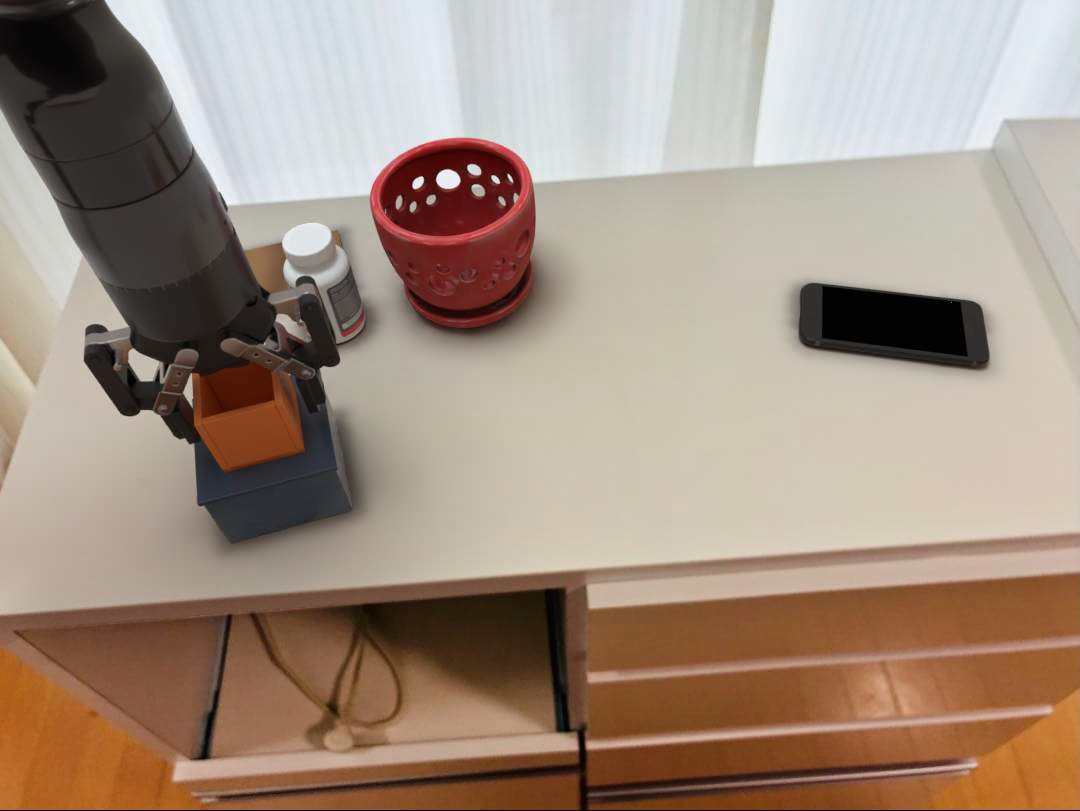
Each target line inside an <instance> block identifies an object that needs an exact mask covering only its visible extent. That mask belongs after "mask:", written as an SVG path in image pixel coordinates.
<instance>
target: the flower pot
mask: <svg viewBox="0 0 1080 811" xmlns="http://www.w3.org/2000/svg"><path fill="white" fill-rule="evenodd" d="M470 165H474V166H477V167H478V168H479V169H480V174H474V173H472V172H470V170H469V169H468V167H469V166H470ZM446 170H447V171H452V172H455V174H457V175H458V177H459V184H458V185H456V186H455V187H452V188H445V187H442V186H440V185H439V184H438V182H437V178H438V175H439V174H440V173H441V172H443V171H446ZM493 176H494V177H496V178H497V179H498V181H499V183H497V182H495V181H494V180H493V178H492V177H493ZM509 176H510V177H511V180H512V181H511V180H510V178H509ZM420 177H421V178H423V182H422V184H421V186H419V187H417V188H414V186H413V185H414V181H415V180H416V179H419V178H420ZM475 185H476V186H477V185H478V186H480V187H481V188H483V190H484V195H481V196H479V195H476V194H475V193H474V191H473V186H475ZM515 194H516V195H517V196H518V197H517V200H516V201H515V197H514V196H515ZM430 196H434V197H435V200H434V202H432V203H430V204H428V203H427V202H428V198H429V197H430ZM399 197H401V204H400V206H399V207H398V208H397V200H398V198H399ZM500 197H501V198H502V199H503V200H504V203H505V204H502V203H501V202H500V199H499V198H500ZM413 203H415V204H416V205H415V209H414V210H413V211H411V205H412V204H413ZM369 207H370V213H371V216H372V220H373V223H374V227H375V230H376V234H377V235H378V238H379V241H380V244H381V247H382V249H383V250H384V253H385V255H386V257H387V259H388V261H389V262H390V265H391V266H392V268H393V270H394V271H395V273H396V274H397V276H398V277H399V278H400V279H401V281H402V282H403V289H404V293H405V295H406V299H407V300H408V301H409V303H410V305H411V306H412V307H413V309H414V310H415V311H416V312H417V313H419V314H420V315H421V316H422V317H424V318H426V319H427V320H429V321H431V322H433V323H435V324H438V325H441V326H445V327H450V328H457V329H459V328H461V329H467V328H469V329H470V328H477V327H482V326H487V325H489V324H492V323H495V322H497V321H499V320H501V319H503V318H505V317H507V316H508V315H510V314H511V313H513V312H514V311H515V310H516V309H517V308H518V307H520V305H521V304H522V303H523V302H524V301H525V299H526V298H527V296H528V294H529V292H530V291H531V287H532V284H533V280H534V266H533V261H532V259H531V256H532V253H533V248H534V244H535V239H536V238H535V237H536V226H537V225H536V224H537V223H536V222H537V214H536V212H537V211H536V197H535V190H534V184H533V178H532V175H531V171H530V169H529V167H528V164H526V162H525V160H523V159H522V157H521V156H519V155H518V153H516V152H514V151H513V150H511V149H510V148H508V147H506V146H504V145H502V144H500V143H497V142H495V141H491V140H487V139H482V138H475V137H448V138H441V139H436V140H432V141H428V142H425V143H422V144H418V145H416V146H414V147H412V148H410V149H408V150H406V151H405V152H402V153H401V154H399V155H398V156H396V157H395V158H393V159H392V160H391V161H390V162H389V163H387V165H386V166H384V167H383V168H382V169H381V171H380V172H379V174H378V175H377V176H376V178H375V179H374V181H373V183H372V186H371V189H370V193H369Z"/></svg>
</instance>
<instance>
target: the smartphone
mask: <svg viewBox="0 0 1080 811" xmlns="http://www.w3.org/2000/svg"><path fill="white" fill-rule="evenodd" d="M951 302H952V303H951ZM798 312H799V313H798V337H799V339H800V340H801V341H802V342H803V343H805V344H807V345H810V346H813V347H814V346H815V347H820V348H828V349H836V350H843V351H851V352H852V351H853V352H861V353H870V354H877V355H885V356H890V357H891V356H892V357H898V358H899V357H900V358H907V359H916V360H923V361H929V362H930V361H931V362H938V363H946V364H947V363H948V364H955V365H962V366H969V367H970V366H972V367H984V366H986V365H987V364H988V363H989V361H990V358H991V356H990V355H991V354H990V348H989V341H988V336H987V329H986V323H985V316H984V311H983V308H982V306H981V304H980V303H978V302H976V301H973V300H969V299H960V298H951V297H943V296H936V295H935V296H934V295H926V294H919V293H918V294H917V293H910V292H909V293H908V292H900V291H899V292H898V291H892V290H891V291H890V290H882V289H874V288H873V289H872V288H865V287H855V286H847V285H839V284H838V285H837V284H829V283H823V282H821V283H819V282H809V283H806V284H804V285H803V286H802V287H801V288H800V291H799V310H798Z"/></svg>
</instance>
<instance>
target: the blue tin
mask: <svg viewBox="0 0 1080 811" xmlns="http://www.w3.org/2000/svg"><path fill="white" fill-rule="evenodd" d="M319 373H320V375H321V378H322V379H323V377H322V372H321V368H320V369H319ZM289 376H290V379H291V381H292V383H293V385H294V388H295V390H296V392H297V398H298V404H299V411H300V417H301V424H302V431H303V437H304V444H305V450H306V452H304V453H300V454H296V455H292V456H289V457H285V458H281V459H277V460H273V461H270V462H266V463H262V464H258V465H254V466H250V467H247V468H243V469H239V470H235V471H231V472H228V473H224V472H223V470H222V469H221V467H220V466H219V464H218V462H217V461H216V459H215V458H214V456H213V455H212V453H211V451H210V450H209V448H208V447H207V445H206V443H205V442H204V440H203V439H202V437H201V442H198V443H194V444H193V445H194V448H193V449H194V464H195V465H194V466H195V467H194V468H195V487H196V504H197V506H198V507H200V508H201V507H204V508H205V509H206V511H207V512H208V514H209V515H210V516H211V518H212V519H213V521H214V522H215V524H216V525H217V526H218V528H219V529H220V531H221V532H222V534H223V535H224V537H225V538H226V539H227V540H228V542H229V543H230V544H234V543H237V542H241V541H245V540H248V539H252V538H256V537H259V536H263V535H267V534H270V533H274V532H277V531H281V530H285V529H289V528H292V527H295V526H300V525H304V524H306V523H307V524H308V523H310V522H314V521H318V520H321V519H325V518H328V517H332V516H336V515H339V514H342V513H343V514H344V513H347V512H350V511H353V510H354V508H353V503H352V497H351V492H350V487H349V481H348V476H347V475H348V474H347V470H346V466H345V459H344V454H343V449H342V448H343V447H342V443H341V439H340V438H341V437H340V432H339V428H338V427H339V426H338V422H337V417H336V414H335V412H334V410H333V407H332V405H331V403H330V400H329V398H328V395H327V392H326V391H325V394H326V401H325V403H323V404H319V407H320V412H317V413H313V414H310V413H309V411H308V409H307V407H306V404H305V402H304V400H303V398H302V395H301V393H300V391H299V389H298V386H297V384H296V379H295V377H294V376H292V375H290V374H289ZM191 407H192V408H193V410H194V407H193V398H192V399H191Z"/></svg>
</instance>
